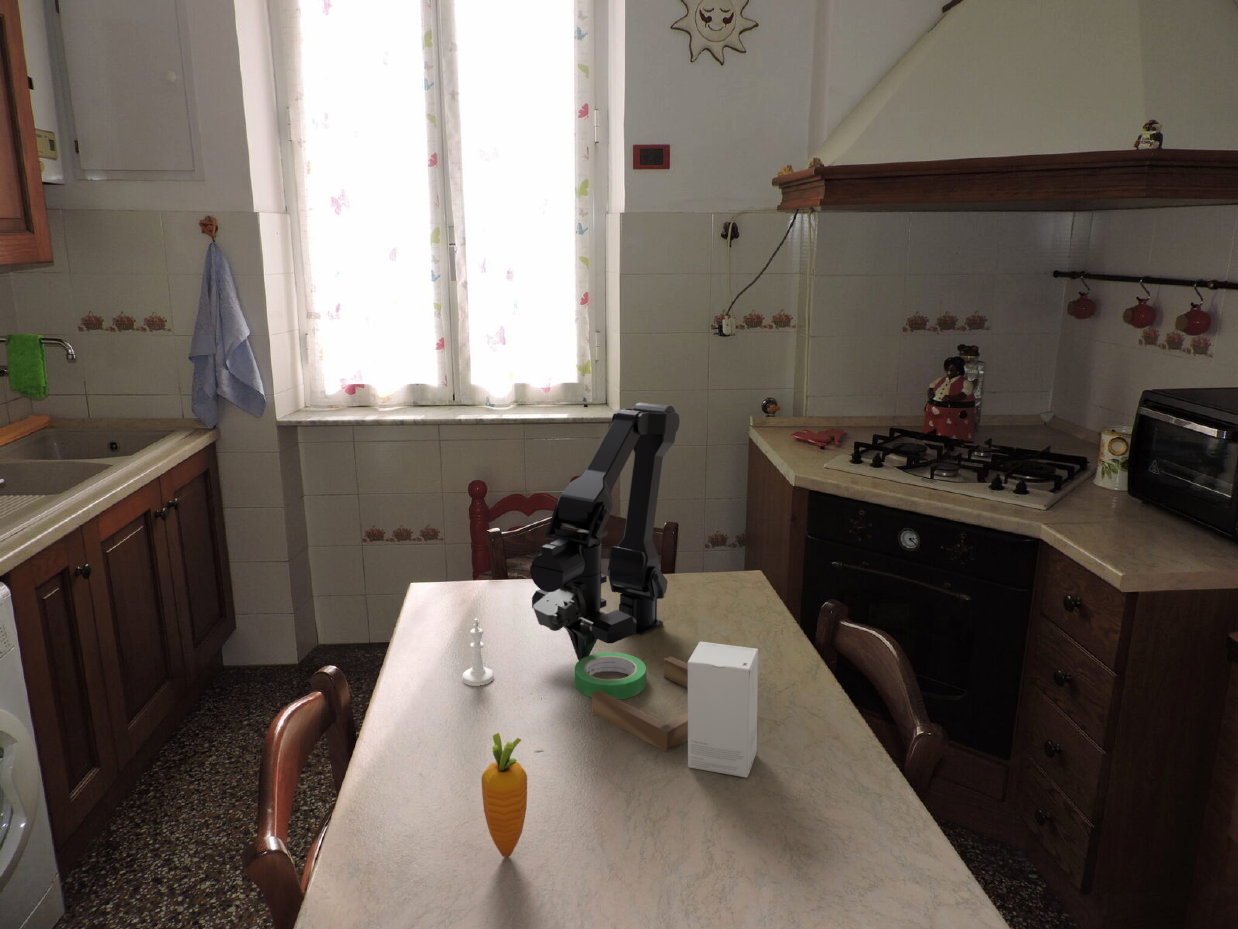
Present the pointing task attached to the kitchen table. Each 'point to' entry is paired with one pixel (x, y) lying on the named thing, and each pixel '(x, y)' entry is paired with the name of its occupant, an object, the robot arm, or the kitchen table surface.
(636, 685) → the tape roll
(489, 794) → the carrot
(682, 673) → the corral
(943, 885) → the kitchen table surface
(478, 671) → the chess piece
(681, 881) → the kitchen table surface
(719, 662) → the skincare box
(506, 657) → the kitchen table surface
